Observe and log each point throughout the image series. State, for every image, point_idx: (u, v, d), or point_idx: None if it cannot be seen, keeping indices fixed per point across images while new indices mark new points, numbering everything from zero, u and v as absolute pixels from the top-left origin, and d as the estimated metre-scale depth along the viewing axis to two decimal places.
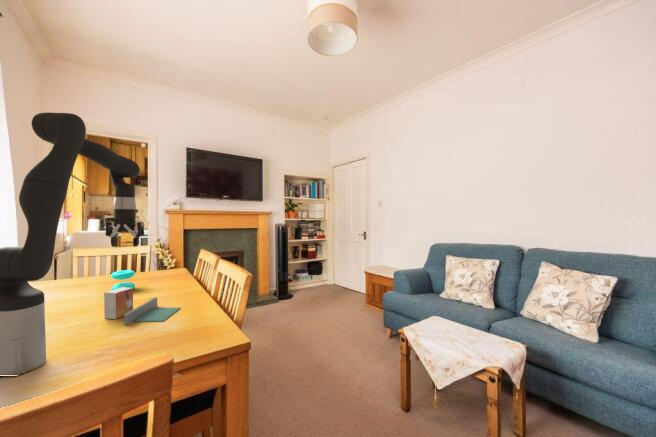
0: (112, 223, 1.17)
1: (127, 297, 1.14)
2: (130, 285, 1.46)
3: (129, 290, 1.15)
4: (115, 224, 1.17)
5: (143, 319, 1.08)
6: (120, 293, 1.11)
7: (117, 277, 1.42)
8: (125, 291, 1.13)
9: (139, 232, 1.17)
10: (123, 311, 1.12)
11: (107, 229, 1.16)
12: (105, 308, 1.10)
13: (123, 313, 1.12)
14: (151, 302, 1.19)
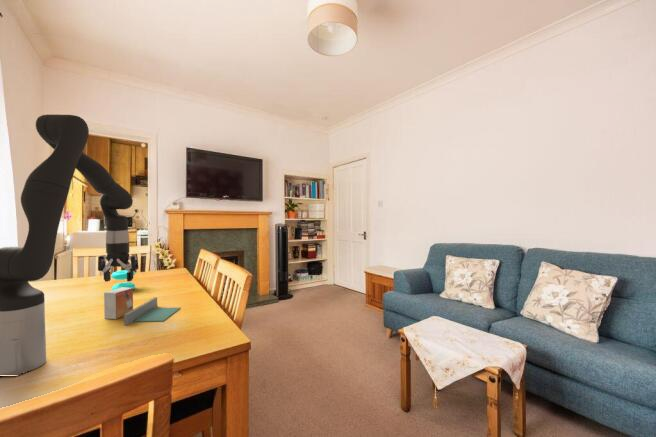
0: (104, 257, 1.12)
1: (127, 297, 1.13)
2: (130, 285, 1.46)
3: (129, 290, 1.15)
4: (108, 258, 1.11)
5: (143, 319, 1.08)
6: (120, 293, 1.11)
7: (117, 277, 1.42)
8: (125, 291, 1.13)
9: (133, 266, 1.12)
10: (123, 311, 1.12)
11: (99, 264, 1.11)
12: (105, 308, 1.10)
13: (123, 313, 1.12)
14: (151, 302, 1.19)
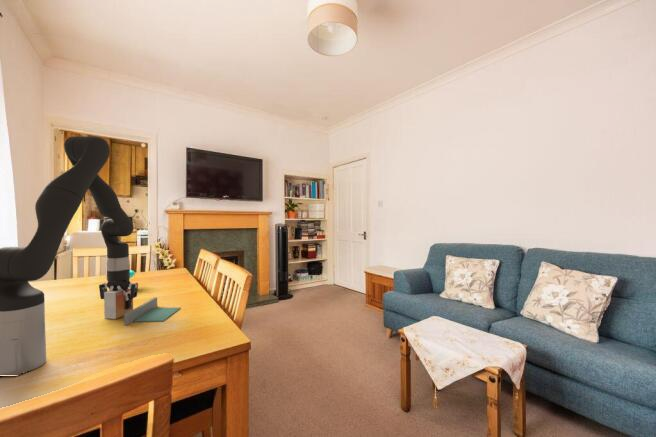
0: (105, 285, 1.12)
1: None
2: None
3: None
4: (108, 285, 1.11)
5: (143, 319, 1.08)
6: (120, 292, 1.11)
7: None
8: (125, 291, 1.13)
9: (132, 295, 1.12)
10: (123, 311, 1.12)
11: (101, 292, 1.11)
12: (105, 308, 1.10)
13: (123, 313, 1.12)
14: (151, 302, 1.19)
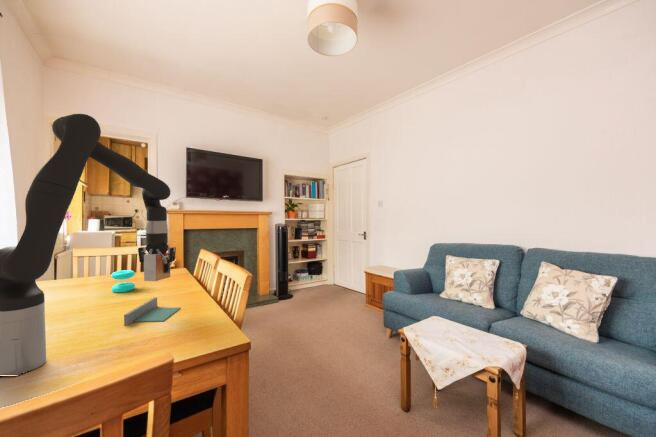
0: (144, 248, 1.12)
1: None
2: (130, 285, 1.46)
3: None
4: (147, 249, 1.12)
5: (143, 319, 1.08)
6: (159, 255, 1.11)
7: (117, 277, 1.42)
8: None
9: (170, 258, 1.12)
10: (162, 275, 1.13)
11: (140, 255, 1.12)
12: (145, 270, 1.10)
13: (162, 276, 1.12)
14: (151, 302, 1.19)
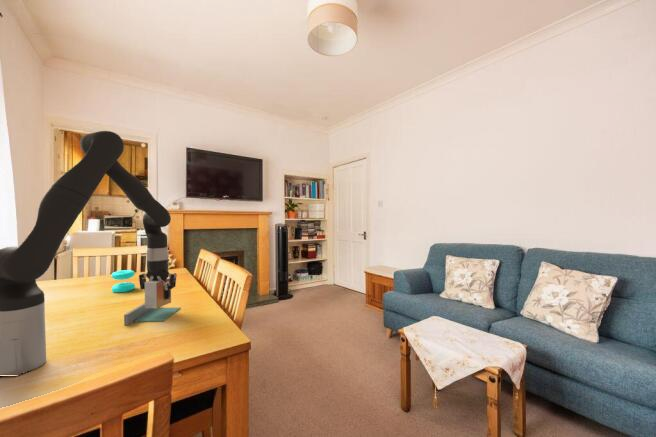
0: (145, 275, 1.13)
1: None
2: (130, 285, 1.46)
3: None
4: (148, 275, 1.12)
5: (143, 319, 1.08)
6: (160, 282, 1.12)
7: (117, 277, 1.42)
8: (164, 281, 1.14)
9: (171, 285, 1.13)
10: (163, 301, 1.13)
11: (141, 282, 1.12)
12: (146, 298, 1.10)
13: (163, 303, 1.13)
14: None
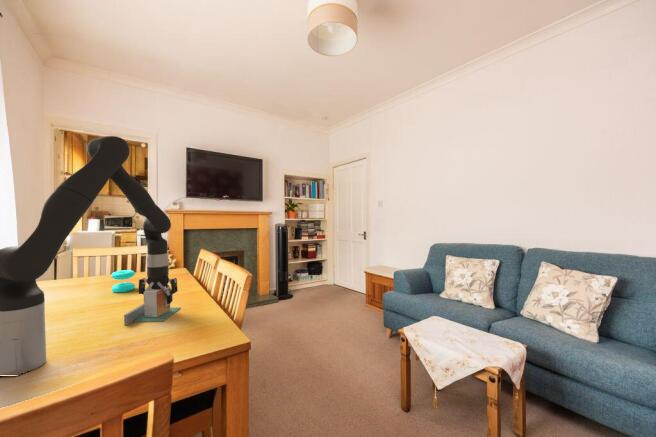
0: (145, 280, 1.13)
1: (165, 296, 1.15)
2: (130, 285, 1.46)
3: None
4: (148, 281, 1.12)
5: (143, 319, 1.08)
6: (160, 291, 1.12)
7: (117, 277, 1.42)
8: None
9: (173, 289, 1.13)
10: (162, 310, 1.13)
11: (140, 287, 1.12)
12: (145, 307, 1.10)
13: (162, 311, 1.13)
14: None
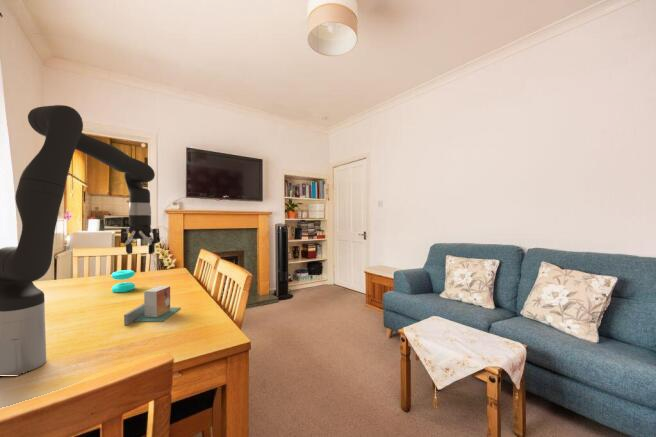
0: (127, 230, 1.13)
1: (165, 296, 1.15)
2: (130, 285, 1.46)
3: (167, 289, 1.16)
4: (130, 231, 1.12)
5: (143, 319, 1.08)
6: (160, 291, 1.12)
7: (117, 277, 1.42)
8: (164, 289, 1.14)
9: (155, 239, 1.12)
10: (162, 310, 1.13)
11: (122, 236, 1.12)
12: (145, 307, 1.10)
13: (162, 311, 1.13)
14: None
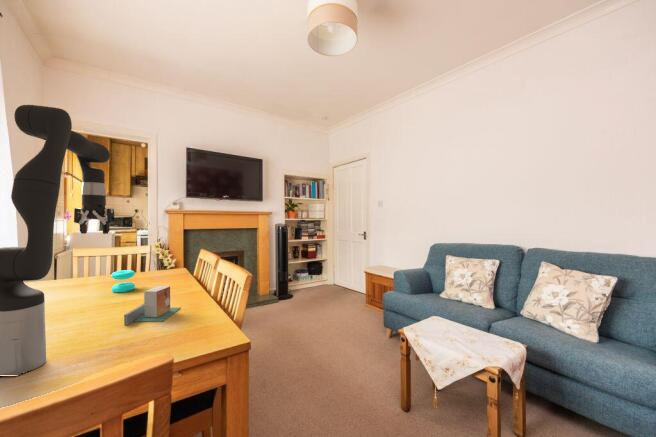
0: (81, 209, 1.13)
1: (165, 296, 1.15)
2: (130, 285, 1.46)
3: (167, 289, 1.16)
4: (84, 210, 1.13)
5: (143, 319, 1.08)
6: (160, 291, 1.12)
7: (117, 277, 1.42)
8: (164, 289, 1.14)
9: (109, 219, 1.13)
10: (162, 310, 1.13)
11: (75, 216, 1.12)
12: (145, 307, 1.10)
13: (162, 311, 1.13)
14: None
